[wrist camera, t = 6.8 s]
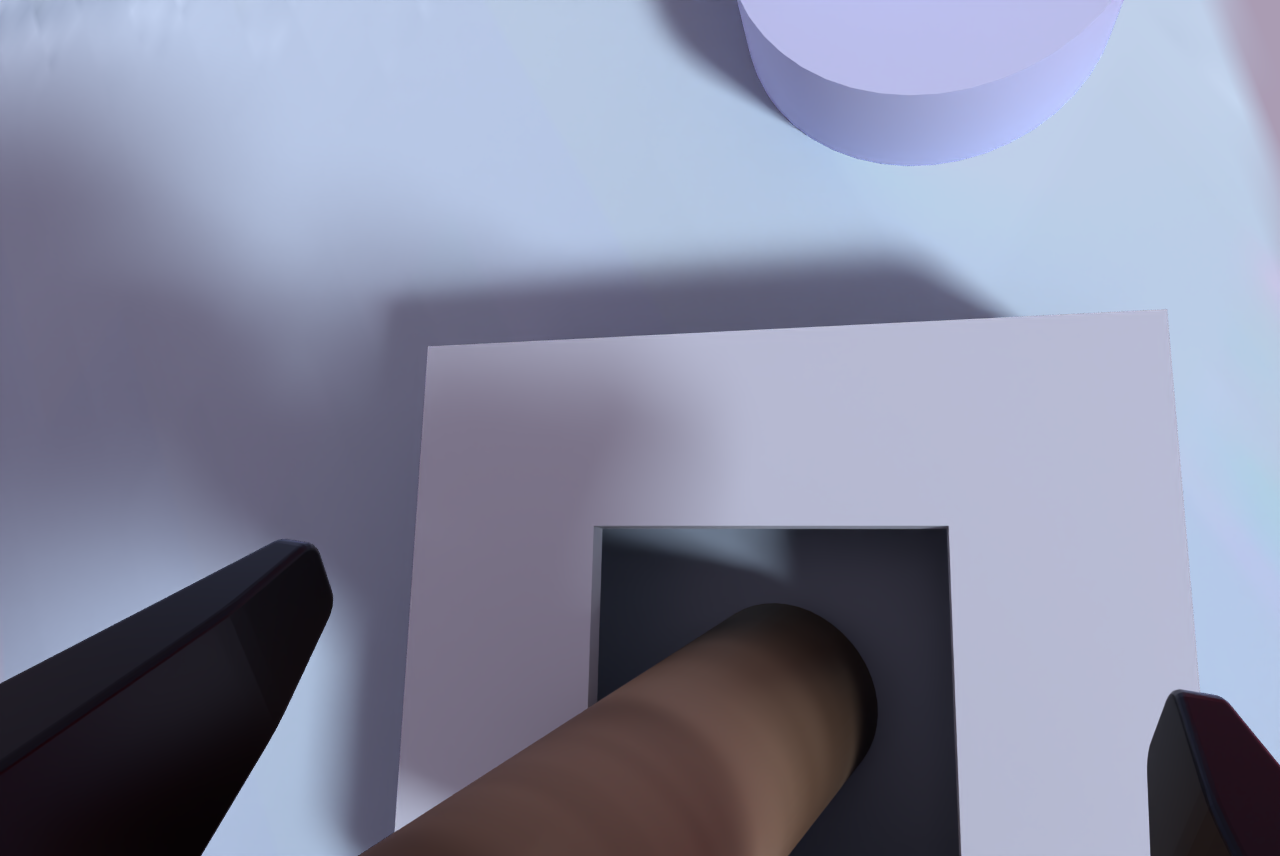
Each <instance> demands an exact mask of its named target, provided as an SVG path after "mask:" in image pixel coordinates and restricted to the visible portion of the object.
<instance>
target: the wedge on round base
mask: <svg viewBox="0 0 1280 856" xmlns="http://www.w3.org/2000/svg"><path fill="white" fill-rule="evenodd" d="M1123 1H1124V0H737V2H738V7H739V11H740V15H741V19H742V23H743V27H744V31H745V35H746V40H747V44H748V48H749V52H750V56H751V59H752V62H753V65H754V68H755V71H756V74H757V76H758V78H759V80H760V82H761V84H762V86H763V88H764V90H765V92H766V93H767V95H768V96H769V98H770V99H771V100H772V102H773V103H774V104H775V106H776V107H777V108H778V110H779V111H780V112H781V113H782V114H783V115H784V116H785V117H786V118H787V119H788V120H789V121H790V122H791V123H792V124H793V125H794V126H795V127H797V128H798V129H799V130H801V131H802V132H804V133H805V134H806V135H808V136H809V137H810V138H812V139H813V140H815V141H817V142H819V143H821V144H823V145H825V146H827V147H828V148H830V149H832V150H834V151H837V152H840V153H843V154H845V155H848V156H851V157H854V158H857V159H861V160H866V161H870V162H875V163H879V164H889V165H901V166H920V165H936V164H942V163H948V162H955V161H960V160H964V159H967V158H971V157H974V156H978V155H981V154H985V153H987V152H990V151H992V150H994V149H997V148H999V147H1001V146H1004V145H1006V144H1009V143H1011V142H1013V141H1014V140H1016V139H1018V138H1020V137H1021V136H1023V135H1025V134H1027V133H1028V132H1030V131H1032V130H1034V129H1035V128H1036V127H1038V126H1039V125H1040V124H1042V123H1043V122H1044V121H1046V120H1047V119H1048V118H1050V117H1051V116H1052V115H1054V114H1055V113H1056V112H1057V111H1058V110H1059V109H1060V108H1061V107H1062V106H1063V105H1064V104H1065V103H1067V102H1068V101H1069V100H1070V99H1071V98H1072V97H1073V96H1074V95H1075V93H1076V92H1077V91H1078V90H1079V88H1080V87H1081V86H1082V85H1083V83H1084V82H1085V81H1086V80H1087V78H1088V77H1089V76H1090V74H1091V73H1092V71H1093V69H1094V68H1095V66H1096V64H1097V63H1098V61H1099V59H1100V58H1101V56H1102V54H1103V52H1104V50H1105V47H1106V45H1107V42H1108V40H1109V37H1110V35H1111V32H1112V30H1113V27H1114V25H1115V22H1116V19H1117V17H1118V14H1119V11H1120V9H1121V6H1122V4H1123Z"/></svg>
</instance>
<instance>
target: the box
mask: <svg viewBox="0 0 1280 856" xmlns="http://www.w3.org/2000/svg"><path fill="white" fill-rule="evenodd" d="M767 603H779V604H788V605H792V606H797V607H800V608H803V609H806V610H808V611H811V612H813V613H815V614H817V615H819V616H820V617H822V618H824V619H825V620H827V621H828V622H830V623H831V624H833V625H834V626H835V627H836V628H837V629H838V630H840V631H841V632H842V633H843V634H844V635H845V636H846V637H847V638H848V640H849V641H850V642H851V643H852V644H853V645H854V647H855V648H856V649H857V651H858V652H859V654H860V655H861V657H862V659H863V660H864V662H865V664H866V666H867V668H868V670H869V673H870V675H871V677H872V681H873V684H874V687H875V691H876V697H877V704H878V719H877V728H876V732H875V736H874V740H873V742H872V744H871V747H870V749H869V751H868V752H867V754H866V756H865V757H864V759H863V760H862V762H861V763H860V764H859V765H858V767H857V768H856V769H855V771H854V772H853V773H852V774H851V776H850V777H849V778H848V780H847V781H846V782H845V783H844V785H843V786H842V787H841V789H840V790H839V791H838V792H837V794H836V795H835V796H834V798H833V799H832V800H831V801H830V803H829V804H828V805H827V807H826V808H825V809H824V810H823V812H822V813H821V814H820V816H819V817H818V818H817V819H816V821H815V822H814V823H813V825H812V826H811V827H810V828H809V830H808V831H807V832H806V834H805V835H804V836H803V837H802V839H801V840H800V841H799V843H798V844H797V845H796V846H795V848H794V849H793V850H792V852H791V853H790V854H789V855H788V856H1150V836H1149V812H1148V788H1147V757H1148V750H1149V746H1150V743H1151V740H1152V737H1153V734H1154V732H1155V729H1156V726H1157V724H1158V721H1159V718H1160V715H1161V713H1162V710H1163V707H1164V705H1165V702H1166V699H1167V697H1168V696H1169V694H1170V693H1171V692H1172V691H1174V690H1178V689H1182V690H1188V691H1194V692H1200V685H1199V673H1198V662H1197V650H1196V639H1195V627H1194V615H1193V604H1192V592H1191V581H1190V569H1189V557H1188V546H1187V534H1186V523H1185V511H1184V499H1183V488H1182V476H1181V464H1180V453H1179V441H1178V430H1177V418H1176V406H1175V395H1174V383H1173V372H1172V360H1171V348H1170V337H1169V325H1168V314H1167V309H1161V310H1141V311H1121V312H1101V313H1081V314H1061V315H1041V316H1021V317H1001V318H982V319H962V320H942V321H922V322H902V323H882V324H862V325H842V326H822V327H802V328H782V329H762V330H742V331H722V332H702V333H683V334H663V335H643V336H623V337H603V338H583V339H563V340H543V341H523V342H503V343H483V344H463V345H443V346H428V350H427V365H426V380H425V394H424V409H423V423H422V438H421V452H420V467H419V482H418V496H417V511H416V525H415V540H414V555H413V569H412V584H411V598H410V613H409V627H408V642H407V657H406V671H405V686H404V700H403V715H402V730H401V744H400V759H399V773H398V788H397V802H396V817H395V832H396V831H397V830H399V829H400V828H402V827H404V826H405V825H407V824H408V823H410V822H411V821H413V820H414V819H416V818H418V817H419V816H421V815H422V814H424V813H425V812H427V811H428V810H430V809H432V808H433V807H435V806H436V805H438V804H439V803H441V802H442V801H444V800H446V799H447V798H449V797H450V796H452V795H453V794H455V793H456V792H458V791H460V790H461V789H463V788H464V787H466V786H467V785H469V784H470V783H472V782H474V781H475V780H477V779H478V778H480V777H481V776H483V775H485V774H486V773H488V772H489V771H491V770H492V769H494V768H495V767H497V766H499V765H500V764H502V763H503V762H505V761H506V760H508V759H509V758H511V757H513V756H514V755H516V754H517V753H519V752H520V751H522V750H523V749H525V748H527V747H528V746H530V745H531V744H533V743H534V742H536V741H537V740H539V739H541V738H542V737H544V736H545V735H547V734H548V733H550V732H551V731H553V730H555V729H556V728H558V727H559V726H561V725H562V724H564V723H565V722H567V721H569V720H570V719H572V718H573V717H575V716H576V715H578V714H580V713H581V712H583V711H584V710H586V709H587V708H589V707H590V706H592V705H594V704H595V703H597V702H598V701H600V700H601V699H603V698H604V697H606V696H608V695H609V694H611V693H612V692H614V691H615V690H617V689H618V688H620V687H622V686H623V685H625V684H626V683H628V682H629V681H631V680H632V679H634V678H636V677H637V676H639V675H640V674H642V673H643V672H645V671H646V670H648V669H650V668H651V667H653V666H654V665H656V664H657V663H659V662H660V661H662V660H664V659H665V658H667V657H668V656H670V655H671V654H673V653H674V652H676V651H678V650H679V649H681V648H682V647H684V646H685V645H687V644H689V643H690V642H692V641H693V640H695V639H696V638H698V637H699V636H701V635H703V634H704V633H706V632H707V631H709V630H710V629H712V628H713V627H715V626H717V625H718V624H720V623H721V622H723V621H724V620H726V619H727V618H729V617H731V616H732V615H734V614H735V613H737V612H739V611H741V610H743V609H745V608H748V607H751V606H754V605H760V604H767Z"/></svg>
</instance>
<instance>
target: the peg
mask: <svg viewBox="0 0 1280 856" xmlns="http://www.w3.org/2000/svg"><path fill="white" fill-rule="evenodd" d="M877 719H878V704H877V697H876V691H875V687H874V684H873V681H872V677H871V675H870V673H869V670H868V668H867V666H866V664H865V662H864V660H863V659H862V657H861V655H860V654H859V652H858V651H857V649H856V648H855V647H854V645H853V644H852V643H851V642H850V641H849V640H848V638H847V637H846V636H845V635H844V634H843V633H842V632H841V631H840V630H838V629H837V628H836V627H835V626H834V625H833V624H831V623H830V622H828V621H827V620H825V619H824V618H822V617H820V616H819V615H817V614H815V613H813V612H811V611H808V610H806V609H803V608H800V607H797V606H792V605H788V604H779V603H767V604H760V605H754V606H751V607H748V608H745V609H743V610H741V611H739V612H737V613H735V614H734V615H732V616H731V617H729V618H727V619H726V620H724V621H723V622H721V623H720V624H718V625H717V626H715V627H713V628H712V629H710V630H709V631H707V632H706V633H704V634H703V635H701V636H699V637H698V638H696V639H695V640H693V641H692V642H690V643H689V644H687V645H685V646H684V647H682V648H681V649H679V650H678V651H676V652H674V653H673V654H671V655H670V656H668V657H667V658H665V659H664V660H662V661H660V662H659V663H657V664H656V665H654V666H653V667H651V668H650V669H648V670H646V671H645V672H643V673H642V674H640V675H639V676H637V677H636V678H634V679H632V680H631V681H629V682H628V683H626V684H625V685H623V686H622V687H620V688H618V689H617V690H615V691H614V692H612V693H611V694H609V695H608V696H606V697H604V698H603V699H601V700H600V701H598V702H597V703H595V704H594V705H592V706H590V707H589V708H587V709H586V710H584V711H583V712H581V713H580V714H578V715H576V716H575V717H573V718H572V719H570V720H569V721H567V722H565V723H564V724H562V725H561V726H559V727H558V728H556V729H555V730H553V731H551V732H550V733H548V734H547V735H545V736H544V737H542V738H541V739H539V740H537V741H536V742H534V743H533V744H531V745H530V746H528V747H527V748H525V749H523V750H522V751H520V752H519V753H517V754H516V755H514V756H513V757H511V758H509V759H508V760H506V761H505V762H503V763H502V764H500V765H499V766H497V767H495V768H494V769H492V770H491V771H489V772H488V773H486V774H485V775H483V776H481V777H480V778H478V779H477V780H475V781H474V782H472V783H470V784H469V785H467V786H466V787H464V788H463V789H461V790H460V791H458V792H456V793H455V794H453V795H452V796H450V797H449V798H447V799H446V800H444V801H442V802H441V803H439V804H438V805H436V806H435V807H433V808H432V809H430V810H428V811H427V812H425V813H424V814H422V815H421V816H419V817H418V818H416V819H414V820H413V821H411V822H410V823H408V824H407V825H405V826H404V827H402V828H400V829H399V830H397V831H396V832H394V833H393V834H391V835H390V836H388V837H386V838H385V839H383V840H382V841H380V842H379V843H377V844H376V845H374V846H372V847H371V848H369V849H368V850H366V851H365V852H363V853H361V854H360V855H358V856H788V855H789V854H790V853H791V852H792V850H793V849H794V848H795V846H796V845H797V844H798V843H799V841H800V840H801V839H802V837H803V836H804V835H805V834H806V832H807V831H808V830H809V828H810V827H811V826H812V825H813V823H814V822H815V821H816V819H817V818H818V817H819V816H820V814H821V813H822V812H823V810H824V809H825V808H826V807H827V805H828V804H829V803H830V801H831V800H832V799H833V798H834V796H835V795H836V794H837V792H838V791H839V790H840V789H841V787H842V786H843V785H844V783H845V782H846V781H847V780H848V778H849V777H850V776H851V774H852V773H853V772H854V771H855V769H856V768H857V767H858V765H859V764H860V763H861V762H862V760H863V759H864V757H865V756H866V754H867V752H868V751H869V749H870V747H871V744H872V742H873V740H874V736H875V732H876V728H877Z"/></svg>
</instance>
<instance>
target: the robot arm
mask: <svg viewBox="0 0 1280 856" xmlns="http://www.w3.org/2000/svg"><path fill="white" fill-rule="evenodd" d="M332 606H333V594H332V590H331V587H330V584H329V581H328V578H327V575H326V572H325V568H324V565H323V562H322V559H321V556H320V553H319V551H318V549H317V548H316V547H315V546H314V545H313V544H310V543H307V542H301V541H295V540H289V539H280V540H277V541H275V542H273V543H271V544H269V545H267V546H265V547H263V548H261V549H259V550H257V551H255V552H253V553H251V554H249V555H247V556H246V557H244V558H242V559H240V560H238V561H236V562H234V563H232V564H230V565H228V566H226V567H224V568H222V569H220V570H219V571H217V572H215V573H213V574H211V575H209V576H207V577H205V578H203V579H201V580H199V581H197V582H195V583H193V584H192V585H190V586H188V587H186V588H184V589H182V590H180V591H178V592H176V593H174V594H172V595H170V596H168V597H166V598H165V599H163V600H161V601H159V602H157V603H155V604H153V605H151V606H149V607H147V608H145V609H143V610H141V611H139V612H137V613H136V614H134V615H132V616H130V617H128V618H126V619H124V620H122V621H120V622H118V623H116V624H114V625H112V626H110V627H109V628H107V629H105V630H103V631H101V632H99V633H97V634H95V635H93V636H91V637H89V638H87V639H85V640H83V641H81V642H80V643H78V644H76V645H74V646H72V647H70V648H68V649H66V650H64V651H62V652H60V653H58V654H56V655H54V656H53V657H51V658H49V659H47V660H45V661H43V662H41V663H39V664H37V665H35V666H33V667H31V668H29V669H27V670H25V671H24V672H22V673H20V674H18V675H16V676H14V677H12V678H10V679H8V680H6V681H4V682H2V683H0V856H201V855H202V853H203V852H204V850H205V848H206V847H207V845H208V843H209V842H210V840H211V838H212V837H213V835H214V833H215V832H216V830H217V828H218V827H219V825H220V823H221V822H222V820H223V818H224V817H225V815H226V813H227V812H228V810H229V808H230V807H231V805H232V803H233V801H234V800H235V798H236V796H237V795H238V793H239V791H240V790H241V788H242V786H243V785H244V783H245V781H246V780H247V778H248V776H249V775H250V773H251V771H252V770H253V768H254V766H255V765H256V763H257V761H258V760H259V758H260V756H261V755H262V753H263V751H264V750H265V748H266V746H267V744H268V743H269V741H270V739H271V737H272V735H273V734H274V732H275V730H276V728H277V726H278V724H279V722H280V720H281V718H282V716H283V715H284V713H285V711H286V709H287V706H288V704H289V702H290V700H291V698H292V696H293V694H294V691H295V689H296V687H297V685H298V683H299V681H300V679H301V676H302V674H303V672H304V670H305V668H306V666H307V664H308V662H309V659H310V657H311V655H312V653H313V651H314V649H315V647H316V644H317V642H318V640H319V638H320V636H321V634H322V632H323V629H324V627H325V625H326V623H327V621H328V619H329V616H330V614H331V610H332ZM1147 788H1148V812H1149V836H1150V856H1280V765H1279V764H1278V762H1277V761H1276V760H1275V759H1274V758H1273V756H1272V755H1271V754H1270V753H1269V751H1268V750H1267V749H1266V748H1265V747H1264V745H1263V744H1262V743H1261V742H1260V740H1259V739H1258V738H1257V737H1256V736H1255V734H1254V733H1253V732H1252V731H1251V729H1250V728H1249V727H1248V726H1247V725H1246V723H1245V722H1244V721H1243V720H1242V718H1241V717H1240V716H1239V715H1238V714H1237V712H1236V711H1235V710H1234V709H1233V707H1232V706H1231V705H1230V704H1229V703H1228V702H1227V701H1226V700H1225V699H1223V698H1222V697H1220V696H1217V695H1212V694H1206V693H1200V692H1194V691H1188V690H1182V689H1178V690H1174V691H1172V692H1171V693H1170V694H1169V696H1168V697H1167V699H1166V702H1165V705H1164V707H1163V710H1162V713H1161V715H1160V718H1159V721H1158V724H1157V726H1156V729H1155V732H1154V734H1153V737H1152V740H1151V743H1150V746H1149V750H1148V757H1147Z"/></svg>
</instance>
